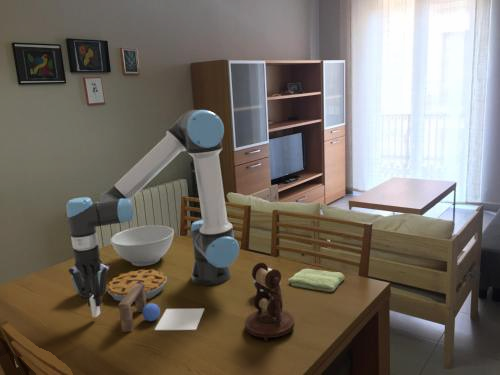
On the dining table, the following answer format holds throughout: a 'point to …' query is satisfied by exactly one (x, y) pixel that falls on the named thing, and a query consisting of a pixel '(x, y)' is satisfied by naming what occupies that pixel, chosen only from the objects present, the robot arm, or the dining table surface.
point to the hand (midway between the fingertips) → (96, 314)
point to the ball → (151, 312)
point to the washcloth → (317, 279)
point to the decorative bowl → (143, 244)
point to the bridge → (125, 306)
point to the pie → (126, 281)
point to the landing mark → (180, 319)
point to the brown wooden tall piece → (268, 305)
